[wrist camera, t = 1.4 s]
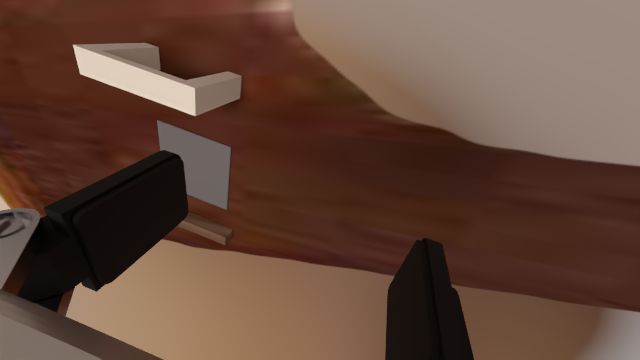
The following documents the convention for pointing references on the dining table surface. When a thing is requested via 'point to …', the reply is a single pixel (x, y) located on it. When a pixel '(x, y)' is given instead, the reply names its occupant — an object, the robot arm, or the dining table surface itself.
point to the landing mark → (199, 163)
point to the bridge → (155, 77)
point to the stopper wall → (207, 228)
